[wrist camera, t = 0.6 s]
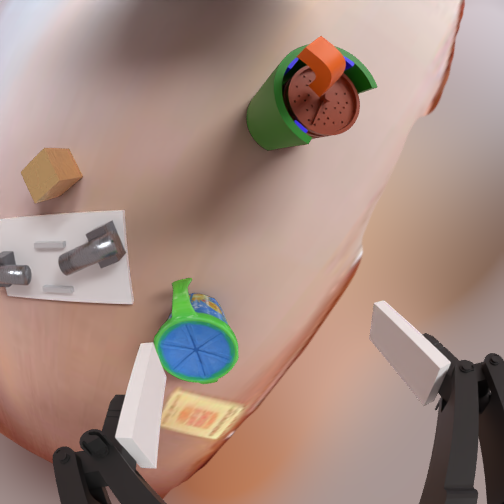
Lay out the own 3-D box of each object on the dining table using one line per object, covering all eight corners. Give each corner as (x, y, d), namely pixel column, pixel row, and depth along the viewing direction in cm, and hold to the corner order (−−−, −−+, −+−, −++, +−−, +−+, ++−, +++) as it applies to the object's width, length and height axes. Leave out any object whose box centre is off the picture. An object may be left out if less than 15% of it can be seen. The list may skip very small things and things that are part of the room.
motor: (286, 164, 36) (361, 167, 17) (231, 127, 34) (254, 87, 15) (324, 108, 34) (414, 75, 16) (272, 72, 32) (328, 2, 13)
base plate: (-5, 219, 31) (-11, 221, 29) (124, 209, 35) (120, 212, 33) (10, 293, 35) (4, 298, 33) (134, 301, 39) (130, 307, 37)
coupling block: (46, 169, 31) (20, 172, 24) (69, 148, 31) (44, 147, 24) (60, 196, 33) (35, 203, 26) (83, 176, 32) (59, 180, 26)
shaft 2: (118, 217, 34) (104, 226, 29) (132, 250, 36) (120, 264, 31) (70, 240, 34) (52, 251, 29) (83, 270, 35) (68, 285, 30)
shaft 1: (2, 278, 33) (-14, 290, 28) (-3, 251, 32) (-21, 261, 26) (41, 280, 35) (25, 294, 30) (36, 250, 33) (17, 262, 28)
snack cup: (154, 269, 38) (138, 302, 29) (226, 261, 39) (232, 293, 30) (175, 354, 43) (170, 397, 34) (236, 348, 44) (244, 391, 35)
